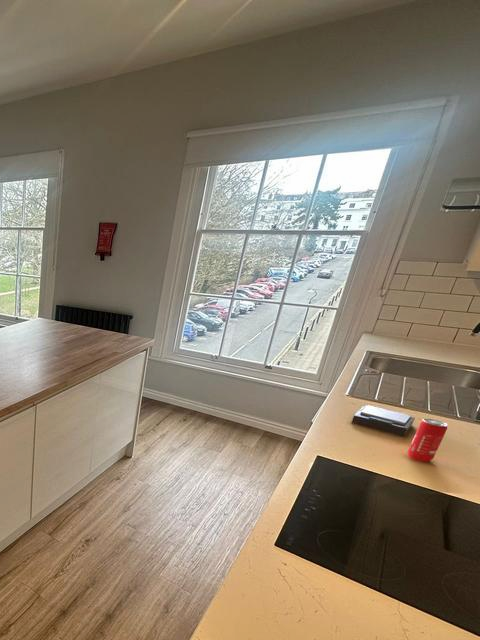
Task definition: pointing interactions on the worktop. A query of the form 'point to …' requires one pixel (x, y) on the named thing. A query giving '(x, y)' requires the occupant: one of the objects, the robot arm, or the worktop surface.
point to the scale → (383, 420)
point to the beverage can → (427, 440)
